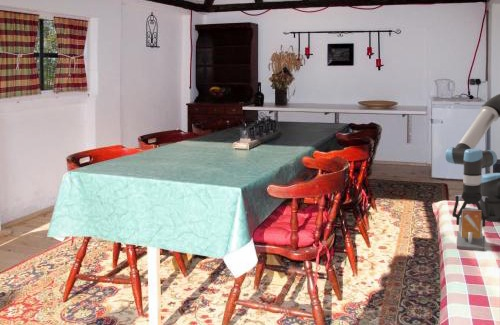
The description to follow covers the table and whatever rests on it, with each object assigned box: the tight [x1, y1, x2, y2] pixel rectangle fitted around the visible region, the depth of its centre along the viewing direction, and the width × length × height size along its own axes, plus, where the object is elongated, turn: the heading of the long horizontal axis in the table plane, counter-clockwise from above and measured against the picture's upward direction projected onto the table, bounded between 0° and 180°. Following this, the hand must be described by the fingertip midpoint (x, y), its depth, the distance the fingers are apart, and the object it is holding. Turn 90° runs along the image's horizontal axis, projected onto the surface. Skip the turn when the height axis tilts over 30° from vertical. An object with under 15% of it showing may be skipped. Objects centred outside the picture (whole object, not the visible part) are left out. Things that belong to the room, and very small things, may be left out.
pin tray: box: [456, 230, 485, 252], centre depth 250 cm, size 22×11×6 cm, turn 159°
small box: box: [460, 206, 482, 239], centre depth 249 cm, size 8×6×13 cm
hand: (470, 232), depth 250 cm, fingers closed on small box, 8 cm apart
